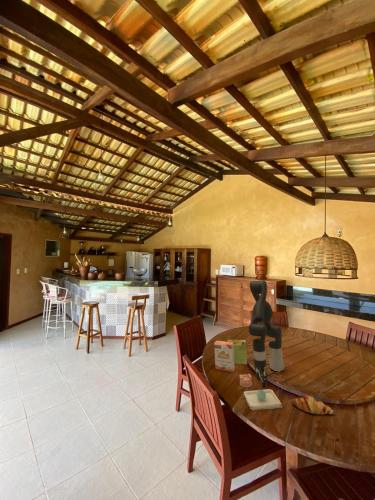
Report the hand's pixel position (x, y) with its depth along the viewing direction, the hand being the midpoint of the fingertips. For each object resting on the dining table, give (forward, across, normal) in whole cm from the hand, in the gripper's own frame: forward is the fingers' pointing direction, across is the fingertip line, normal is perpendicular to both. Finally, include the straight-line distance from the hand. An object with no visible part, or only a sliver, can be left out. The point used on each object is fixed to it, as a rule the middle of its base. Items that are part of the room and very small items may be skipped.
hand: (261, 383), depth 138 cm
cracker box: (+11, +40, +14) cm, 44 cm away
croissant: (+11, -11, -24) cm, 29 cm away
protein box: (+12, +52, +1) cm, 53 cm away
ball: (+7, 0, +1) cm, 7 cm away
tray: (+11, 0, 0) cm, 11 cm away
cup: (+11, +19, +4) cm, 22 cm away
